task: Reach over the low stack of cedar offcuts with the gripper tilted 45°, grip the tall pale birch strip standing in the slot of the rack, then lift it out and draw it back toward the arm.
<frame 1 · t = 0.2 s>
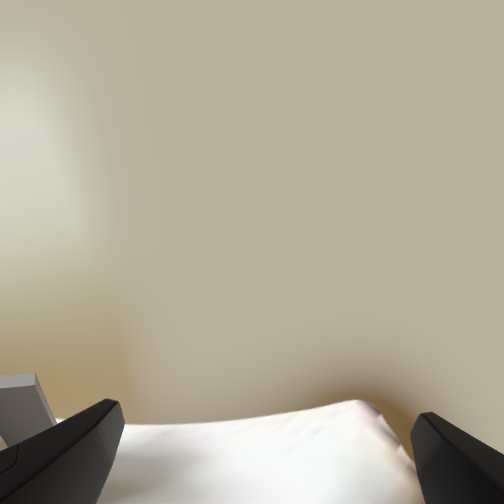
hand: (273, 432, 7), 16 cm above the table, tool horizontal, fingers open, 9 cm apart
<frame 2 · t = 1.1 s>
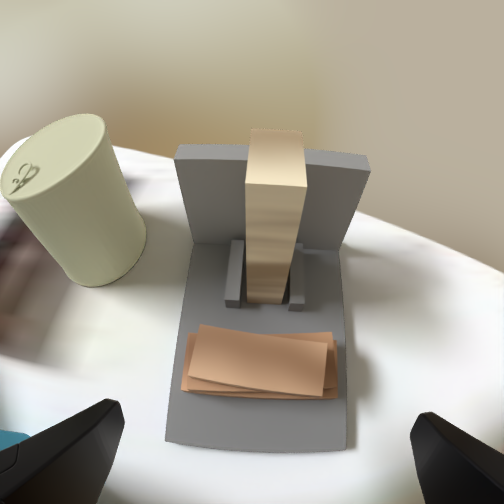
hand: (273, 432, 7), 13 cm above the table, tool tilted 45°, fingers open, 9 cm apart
birch strip: (265, 279, 23), point 1 cm above the table, touching rack
can: (103, 244, 26), on the table
rack: (262, 333, 22), on the table
data package: (39, 498, 13), on the table
offcut stack: (260, 370, 19), point 1 cm above the table, touching rack
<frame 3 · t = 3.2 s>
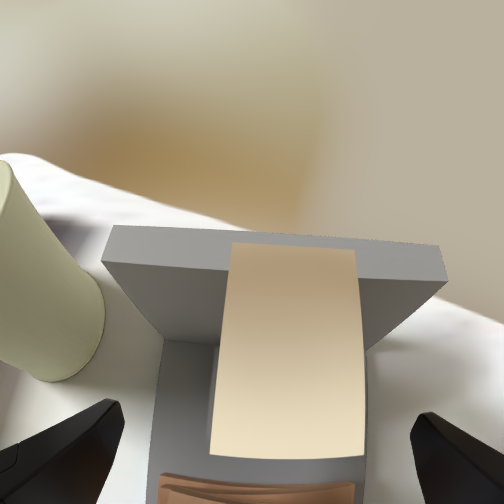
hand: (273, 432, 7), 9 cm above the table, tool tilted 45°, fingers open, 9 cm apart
birch strip: (263, 399, 15), point 1 cm above the table, touching rack
can: (54, 322, 18), on the table
rack: (258, 465, 14), on the table
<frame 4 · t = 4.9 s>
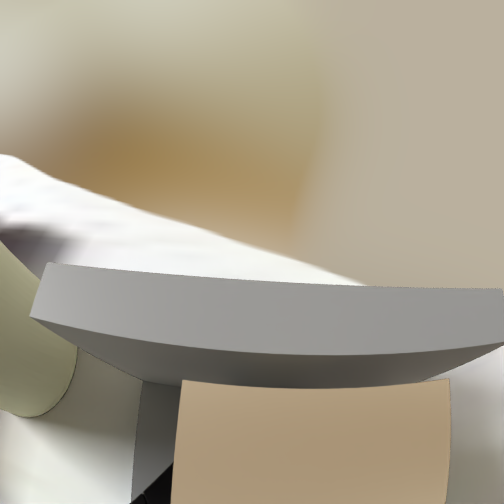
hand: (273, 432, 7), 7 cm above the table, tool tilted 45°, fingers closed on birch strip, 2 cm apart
birch strip: (261, 455, 11), point 1 cm above the table, touching gripper, rack
can: (25, 349, 15), on the table
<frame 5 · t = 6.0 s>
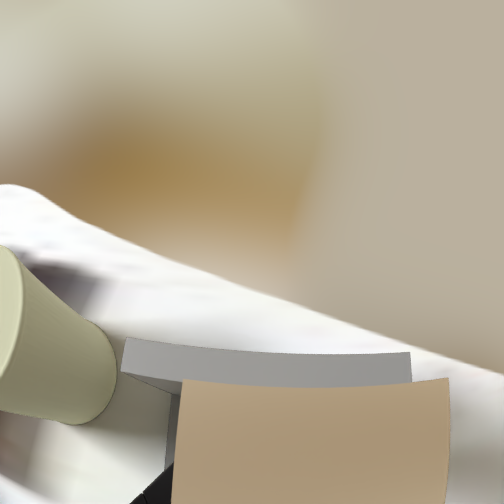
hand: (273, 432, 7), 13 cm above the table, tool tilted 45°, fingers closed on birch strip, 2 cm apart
birch strip: (261, 454, 11), point 7 cm above the table, touching gripper
can: (70, 370, 20), on the table
rack: (253, 495, 15), on the table
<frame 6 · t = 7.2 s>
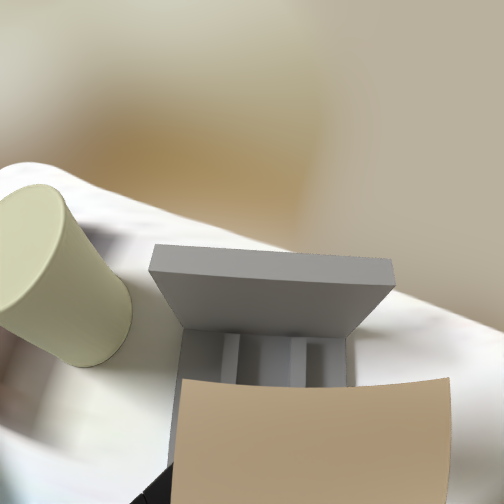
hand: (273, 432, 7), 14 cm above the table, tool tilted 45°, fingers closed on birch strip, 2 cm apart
birch strip: (261, 454, 11), point 8 cm above the table, touching gripper
can: (86, 316, 23), on the table
rack: (258, 430, 18), on the table
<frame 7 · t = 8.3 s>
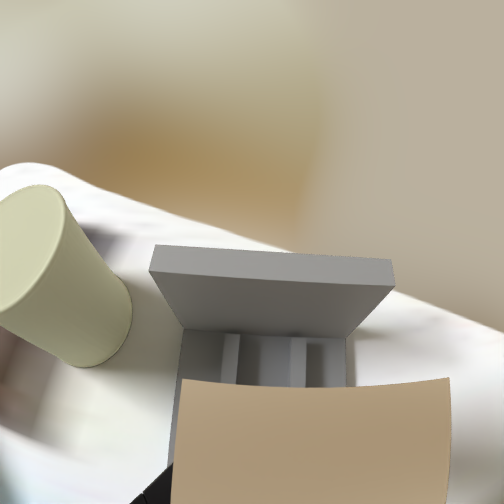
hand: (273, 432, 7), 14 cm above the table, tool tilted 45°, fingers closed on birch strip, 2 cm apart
birch strip: (261, 454, 11), point 8 cm above the table, touching gripper
can: (86, 317, 23), on the table
rack: (258, 430, 19), on the table
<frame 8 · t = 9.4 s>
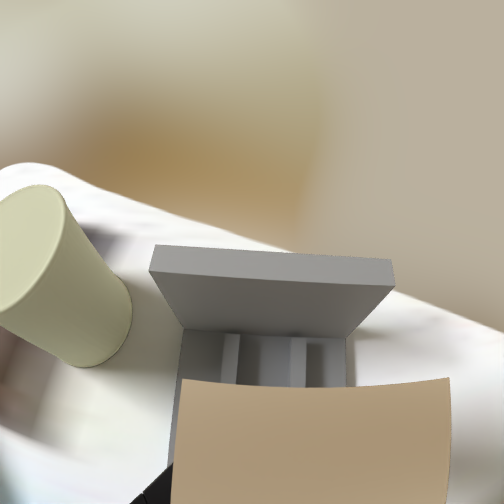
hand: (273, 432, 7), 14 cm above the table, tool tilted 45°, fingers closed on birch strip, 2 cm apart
birch strip: (261, 454, 11), point 8 cm above the table, touching gripper
can: (86, 317, 23), on the table
rack: (258, 430, 19), on the table
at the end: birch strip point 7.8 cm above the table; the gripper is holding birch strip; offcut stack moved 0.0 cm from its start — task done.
